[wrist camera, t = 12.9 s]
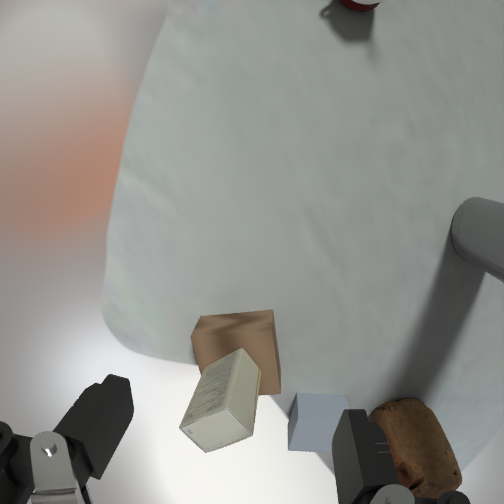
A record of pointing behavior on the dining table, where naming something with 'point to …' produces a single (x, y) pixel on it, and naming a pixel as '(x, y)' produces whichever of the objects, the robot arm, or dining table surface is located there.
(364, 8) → the cocoa
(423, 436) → the block
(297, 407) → the slate block
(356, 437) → the robot arm
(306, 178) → the dining table surface
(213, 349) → the walnut block
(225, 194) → the dining table surface
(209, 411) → the skincare box
